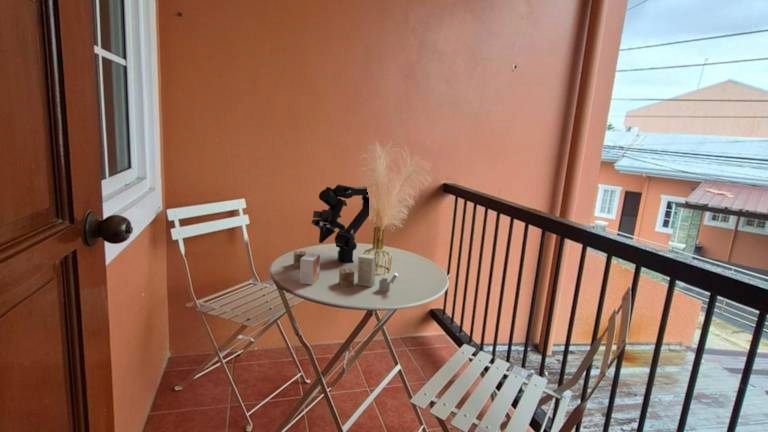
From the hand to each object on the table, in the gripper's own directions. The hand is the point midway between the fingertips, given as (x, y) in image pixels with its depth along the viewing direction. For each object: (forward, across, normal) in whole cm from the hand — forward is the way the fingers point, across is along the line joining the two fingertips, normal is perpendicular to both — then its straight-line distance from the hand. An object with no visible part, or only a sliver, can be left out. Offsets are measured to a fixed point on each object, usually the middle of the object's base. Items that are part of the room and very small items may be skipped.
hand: (320, 242), depth 171 cm
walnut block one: (+13, +16, +9) cm, 23 cm away
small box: (+17, +5, -1) cm, 18 cm away
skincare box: (+10, +20, +16) cm, 27 cm away
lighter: (+10, +30, +19) cm, 37 cm away
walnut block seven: (+12, -12, +2) cm, 17 cm away
